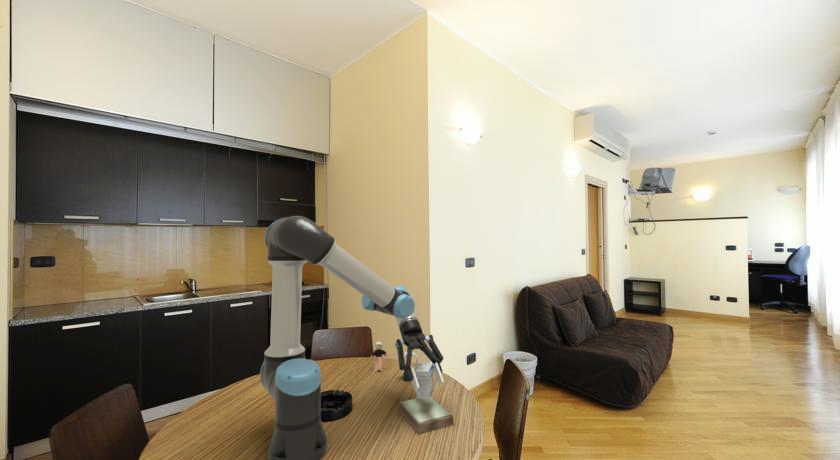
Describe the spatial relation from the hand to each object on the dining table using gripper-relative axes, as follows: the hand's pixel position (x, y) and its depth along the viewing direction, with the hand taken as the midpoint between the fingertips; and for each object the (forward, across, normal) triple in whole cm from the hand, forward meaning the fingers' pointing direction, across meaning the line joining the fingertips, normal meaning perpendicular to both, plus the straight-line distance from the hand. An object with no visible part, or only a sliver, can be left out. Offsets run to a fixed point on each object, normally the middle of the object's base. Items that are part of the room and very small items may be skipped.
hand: (429, 386), depth 110 cm
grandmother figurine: (-27, 0, -44) cm, 52 cm away
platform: (+6, 0, -10) cm, 12 cm away
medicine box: (0, 0, -5) cm, 5 cm away
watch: (-17, -8, -33) cm, 38 cm away
